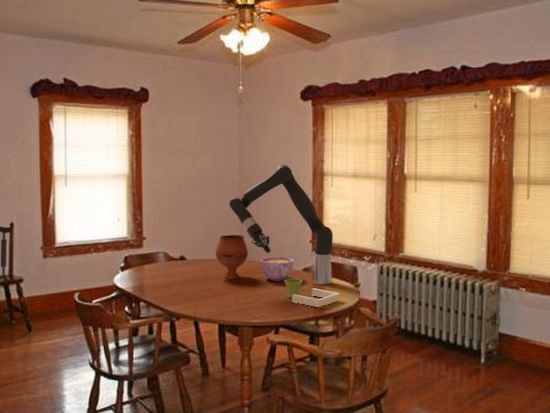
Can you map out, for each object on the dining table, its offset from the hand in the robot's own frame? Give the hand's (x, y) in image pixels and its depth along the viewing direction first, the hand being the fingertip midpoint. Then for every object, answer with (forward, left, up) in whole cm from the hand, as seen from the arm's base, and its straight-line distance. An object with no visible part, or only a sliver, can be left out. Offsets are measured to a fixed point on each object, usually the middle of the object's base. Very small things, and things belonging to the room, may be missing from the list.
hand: (268, 251), depth 303 cm
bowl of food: (-26, -16, -22) cm, 38 cm away
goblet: (-12, -40, -22) cm, 47 cm away
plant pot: (0, +17, -22) cm, 28 cm away
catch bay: (0, +31, -22) cm, 38 cm away
